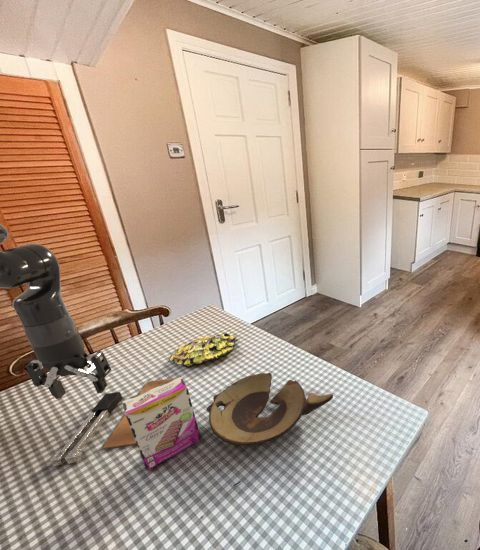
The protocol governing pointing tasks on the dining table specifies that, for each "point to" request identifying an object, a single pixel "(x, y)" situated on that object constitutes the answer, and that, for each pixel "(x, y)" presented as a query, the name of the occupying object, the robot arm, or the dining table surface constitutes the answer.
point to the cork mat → (123, 430)
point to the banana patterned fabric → (204, 349)
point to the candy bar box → (162, 422)
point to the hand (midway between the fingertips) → (81, 393)
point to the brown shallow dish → (259, 410)
